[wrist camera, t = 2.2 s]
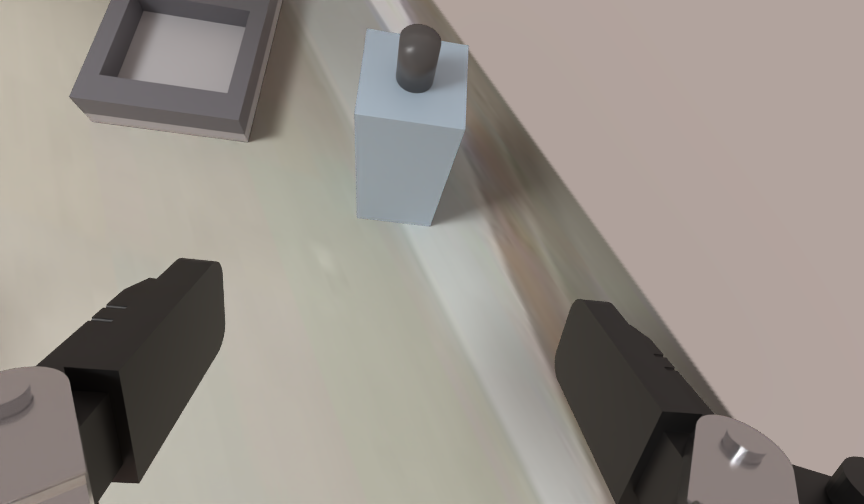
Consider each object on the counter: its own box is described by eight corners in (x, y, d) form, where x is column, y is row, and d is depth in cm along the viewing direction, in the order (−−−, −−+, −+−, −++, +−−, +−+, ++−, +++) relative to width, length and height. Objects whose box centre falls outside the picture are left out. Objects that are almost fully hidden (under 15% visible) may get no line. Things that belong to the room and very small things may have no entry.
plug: (357, 217, 27) (353, 78, 16) (365, 154, 28) (367, -14, 17) (430, 226, 27) (477, 97, 16) (434, 163, 29) (479, 6, 18)
